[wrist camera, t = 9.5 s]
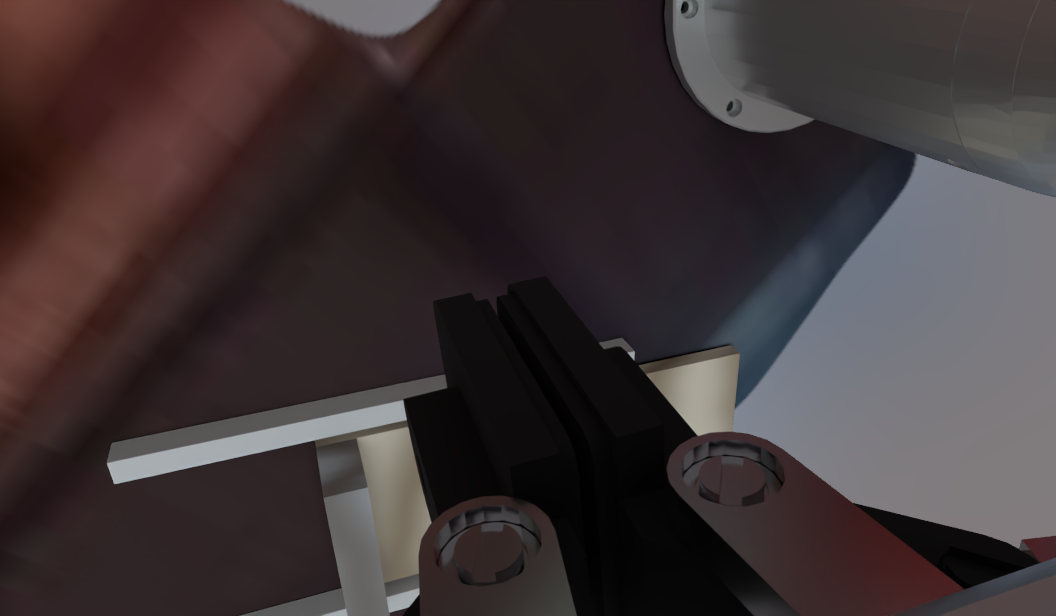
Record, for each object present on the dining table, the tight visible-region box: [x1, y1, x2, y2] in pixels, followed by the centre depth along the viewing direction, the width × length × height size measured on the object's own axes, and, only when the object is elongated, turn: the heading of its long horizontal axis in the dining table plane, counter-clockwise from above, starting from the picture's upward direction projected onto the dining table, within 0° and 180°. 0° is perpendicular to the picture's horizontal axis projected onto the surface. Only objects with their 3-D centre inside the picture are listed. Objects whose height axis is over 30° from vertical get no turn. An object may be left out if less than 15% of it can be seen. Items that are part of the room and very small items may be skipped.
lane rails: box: [107, 338, 635, 616], centre depth 42 cm, size 26×14×2 cm, turn 93°
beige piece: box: [315, 345, 740, 616], centre depth 43 cm, size 24×10×5 cm, turn 93°
